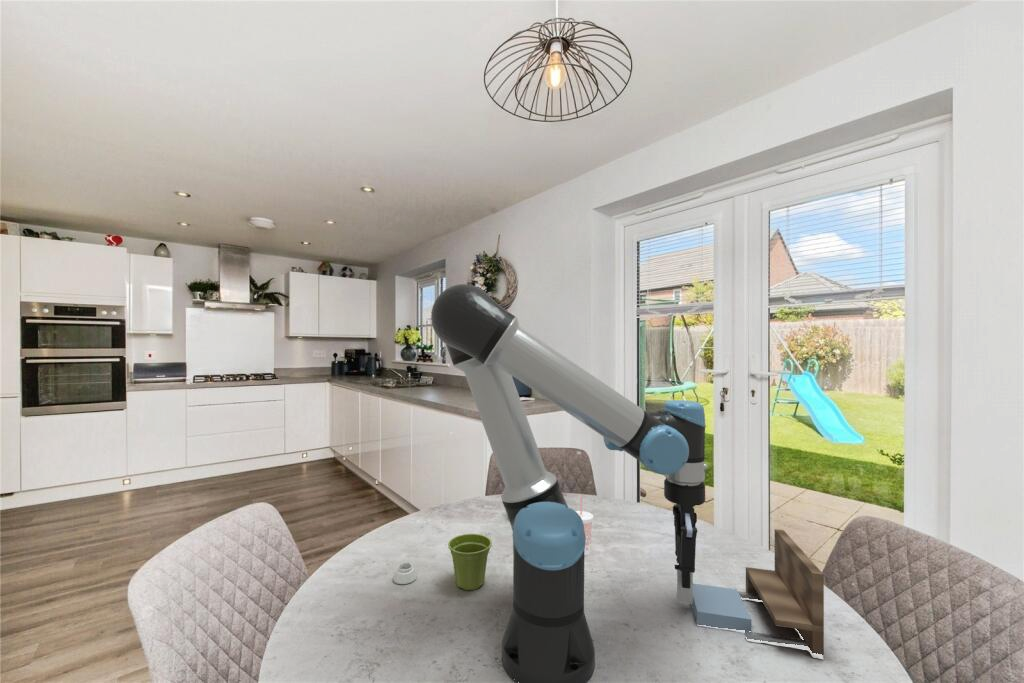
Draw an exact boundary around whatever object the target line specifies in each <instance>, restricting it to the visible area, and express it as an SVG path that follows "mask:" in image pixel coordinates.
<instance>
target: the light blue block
mask: <svg viewBox="0 0 1024 683" xmlns="http://www.w3.org/2000/svg"><path fill="white" fill-rule="evenodd" d="M692 607H693V609H692V611H693V610H694V612H693V615H694V614H695V616H694V618H695V617H696V619H695V622H696V621H697V623H696V625H697V624H698V625H706V626H711V627H718V628H728V629H736V630H745V631H751V632H752V618H751V615H750V613H749V611H748V609H747V607H746V605H745V603H744V600H742V599H741V597H740V595H739V593H738V589H736V588H730V587H722V586H714V585H708V584H707V585H706V584H700V583H693V604H692V605H691V608H692Z"/></svg>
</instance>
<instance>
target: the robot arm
mask: <svg viewBox="0 0 1024 683" xmlns="http://www.w3.org/2000/svg"><path fill="white" fill-rule="evenodd" d="M431 308H432V309H431V315H430V318H431V319H430V320H431V325H432V328H433V331H434V333H435V334H436V336H437V337H438V338H439V340H441V341H442V342H443V343H444V344H445V346H446V349H447V352H448V354H449V357H450V360H451V362H452V364H453V367H454V368H455V369H457V370H460V371H462V372H463V374H464V375H465V379H466V380H467V384H468V387H469V389H470V392H471V395H472V397H473V400H474V403H475V406H476V410H477V412H478V415H479V417H480V420H481V422H482V425H483V429H484V431H485V433H486V434H485V435H486V436H487V440H488V442H489V446H490V448H491V451H492V453H493V456H494V459H495V462H496V464H497V467H498V470H499V473H500V476H501V478H502V480H503V481H502V482H503V483H504V489H503V491H502V494H501V495H500V498H501V500H502V501H501V502H502V504H503V507H504V511H505V512H506V516H507V518H508V520H509V524H510V527H511V530H512V549H513V550H512V554H513V555H512V557H513V560H512V561H513V562H512V563H513V566H512V567H513V570H512V572H513V573H512V575H513V576H512V577H513V578H512V579H513V580H512V582H513V586H512V597H513V598H512V610H511V613H510V616H509V620H508V622H507V625H506V629H505V631H504V634H503V636H502V637H503V638H502V643H501V661H502V665H503V668H504V671H506V674H508V676H509V675H510V676H511V677H512V678H513V679H515V680H514V681H515V682H516V681H517V682H519V683H587V682H588V681H589V679H590V678H591V677H592V675H593V673H594V671H595V665H596V663H595V662H596V660H595V659H596V658H595V656H596V655H595V653H596V651H595V644H594V641H593V638H592V637H593V636H592V635H591V630H590V628H589V624H588V621H587V618H586V614H585V556H584V548H585V543H586V538H585V532H584V524H583V521H582V519H581V517H580V516H579V514H578V513H577V512H576V511H577V510H575V509H573V508H571V507H569V506H568V503H567V501H566V499H565V497H564V494H563V492H562V489H561V486H560V483H559V481H558V478H557V476H556V474H554V473H552V472H550V471H548V470H547V469H546V467H545V465H544V461H543V459H542V456H541V453H540V450H539V447H538V445H537V442H536V439H535V436H534V434H533V431H532V428H531V426H530V423H529V419H528V418H527V414H526V412H525V408H524V406H523V403H522V401H521V397H520V395H519V392H518V390H517V387H516V384H515V381H514V378H515V379H516V380H518V381H519V382H520V383H522V384H524V385H525V386H526V387H528V388H530V389H531V390H533V391H535V393H537V394H539V395H540V396H542V397H544V399H546V400H547V401H550V402H551V403H552V404H554V405H555V406H557V407H559V408H560V409H562V410H563V411H564V412H566V413H567V414H569V415H570V416H572V417H573V418H574V419H576V420H578V421H579V422H581V423H582V424H584V425H586V426H587V427H588V428H590V429H591V430H592V431H594V432H596V433H598V434H599V435H600V436H602V437H603V443H604V445H605V447H606V448H607V449H608V450H610V451H619V452H625V453H627V454H628V455H630V456H631V457H632V458H634V459H636V460H637V461H639V462H640V463H642V465H643V466H644V467H645V468H646V469H648V470H650V471H652V472H654V473H656V474H658V475H663V477H664V478H665V479H664V481H663V482H664V483H663V490H664V491H663V496H664V498H665V500H667V502H670V503H672V504H673V506H672V514H673V515H672V516H673V521H674V522H673V527H674V541H675V542H674V545H675V551H674V554H675V556H676V559H675V560H676V563H677V564H674V570H676V600H677V603H682V604H683V603H685V604H690V605H691V604H693V584H694V581H693V579H694V575H693V574H694V573H695V572H696V568H695V567H696V545H697V536H698V528H697V526H696V524H697V522H698V518H697V517H698V516H697V512H695V507H696V506H701V505H703V504H704V503H705V502H706V484H705V482H704V481H705V480H706V473H705V470H708V469H709V466H708V464H707V463H705V462H706V461H705V460H706V452H705V451H706V445H705V444H706V442H705V441H706V437H705V436H706V428H707V425H706V416H705V408H704V406H703V405H702V404H701V403H700V402H697V401H693V400H679V399H677V400H666V401H665V402H664V403H663V408H662V410H659V411H645V410H644V409H643V408H642V407H640V406H638V405H637V404H636V403H634V402H633V401H631V400H630V399H629V398H627V397H626V396H624V395H622V394H621V393H620V392H618V391H616V390H615V389H614V388H612V387H610V386H609V385H607V384H606V383H604V382H603V381H602V380H600V379H598V378H597V377H595V376H594V375H593V374H591V373H590V372H588V371H586V370H585V369H584V368H582V367H581V366H579V365H577V364H576V363H575V362H573V361H572V360H570V359H569V358H567V357H566V356H564V355H563V354H561V353H560V352H558V351H557V350H555V349H553V347H550V345H548V344H546V343H544V342H543V341H542V340H540V339H539V338H537V337H536V336H534V335H533V334H531V333H530V332H528V331H527V330H525V329H524V328H522V327H520V325H519V324H520V323H519V321H518V317H517V316H515V315H514V314H512V313H511V312H510V311H508V310H507V309H506V308H504V307H503V306H502V305H500V304H499V303H498V302H497V301H495V300H494V299H493V298H492V296H490V295H489V294H488V292H486V291H485V290H483V289H481V288H480V287H477V286H476V285H473V284H465V283H463V284H462V283H461V284H455V285H451V286H450V287H447V288H445V289H444V290H443V291H442V292H441V293H440V294H439V295H438V296H437V298H436V299H435V300H434V303H433V305H432V307H431ZM510 676H509V677H510ZM511 677H510V678H511ZM512 678H511V679H512ZM513 679H512V680H513ZM517 682H516V683H517Z"/></svg>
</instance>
